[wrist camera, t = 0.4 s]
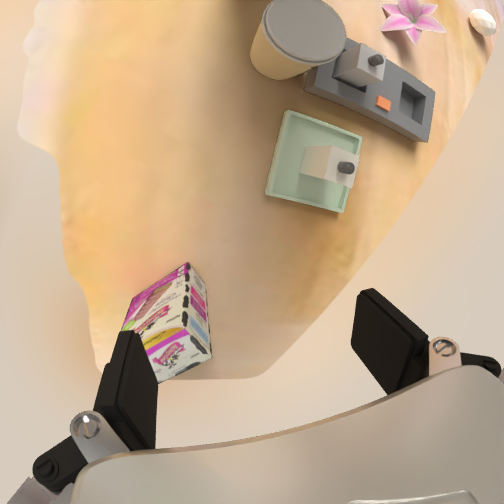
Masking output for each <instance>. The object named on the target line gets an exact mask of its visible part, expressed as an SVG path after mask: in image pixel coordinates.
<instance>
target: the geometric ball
mask: <svg viewBox="0 0 504 504" xmlns="http://www.w3.org/2000/svg"><path fill="white" fill-rule="evenodd" d="M470 22H471V25H472V26H473V28H474V29H475V30H476V31H477V32H478V33H481V34H482V35H485V36H491V35H492V34H494V33H495V32H496V23H495V21H494V19H493V18H492V16H491V15H490V14H488V13H487V12H486V11H484V10H481V9H474V10H473V11H472V12H471V13H470Z"/></svg>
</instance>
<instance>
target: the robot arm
mask: <svg viewBox="0 0 504 504" xmlns="http://www.w3.org/2000/svg"><path fill="white" fill-rule="evenodd" d="M351 346H352V349H353V350H354V351H355V353H356V354H357V355H358V357H359V358H360V359H361V360H362V362H363V363H364V364H365V366H366V367H367V368H368V370H369V371H370V372H371V374H372V375H373V376H374V378H375V379H376V380H377V382H378V383H379V384H380V385H381V387H382V388H383V390H384V391H385V392H386V393H387V396H385V397H383V398H380V399H378V400H376V401H373V402H371V403H368V404H365V405H363V406H361V407H358V408H355V409H352V410H350V411H347V412H344V413H341V414H338V415H335V416H332V417H329V418H326V419H323V420H320V421H316V422H313V423H310V424H306V425H302V426H299V427H295V428H291V429H287V430H283V431H280V432H275V433H271V434H266V435H261V436H256V437H251V438H246V439H240V440H235V441H228V442H221V443H215V444H206V445H197V446H189V447H177V448H162V449H155V442H156V441H155V440H156V413H157V395H158V381H157V378H156V375H155V373H154V371H153V368H152V366H151V363H150V361H149V358H148V356H147V353H146V350H145V348H144V345H143V342H142V340H141V337H140V334H139V333H135V331H134V330H125V331H120V332H119V335H118V338H117V341H116V344H115V347H114V351H113V354H112V357H111V361H110V363H107V364H106V366H105V368H104V371H103V375H102V378H101V382H100V385H99V389H98V393H97V397H96V400H95V404H94V408H93V411H84V412H81V413H79V414H78V415H77V416H75V417H74V419H73V420H72V421H71V424H70V432H71V436H69V437H68V438H67V439H65V440H63V441H62V442H61V443H59V444H58V445H56V446H55V447H53V448H52V449H50V450H49V451H47V452H45V453H44V454H42V455H41V456H39V457H38V458H37V459H36V460H35V462H34V464H33V475H34V476H33V477H32V479H31V478H29V477H28V478H27V479H26V481H25V482H24V483H23V484H22V485H21V487H20V488H19V489H18V490H17V492H16V493H15V494H14V495H13V497H12V498H11V499H10V500H9V502H8V503H7V504H504V368H503V370H501V366H500V364H499V363H498V362H497V361H496V360H495V359H494V358H491V357H487V356H481V355H474V354H468V353H461V352H460V349H459V346H458V345H457V343H456V342H455V341H453V340H452V339H449V338H446V337H437V338H434V339H433V340H432V341H431V342H429V341H428V335H427V334H426V333H425V332H423V331H422V330H421V329H420V328H419V327H418V326H417V325H416V324H415V323H413V322H412V321H411V320H410V319H409V318H408V317H407V316H406V315H404V314H403V313H402V312H401V311H400V310H399V309H397V308H396V307H395V306H394V305H393V304H392V303H391V302H389V301H388V300H387V299H386V298H385V297H383V296H382V295H381V294H380V293H379V292H378V291H376V290H375V289H374V288H370V289H366V290H362V291H361V292H360V294H359V295H358V296H357V300H356V309H355V316H354V323H353V331H352V338H351Z"/></svg>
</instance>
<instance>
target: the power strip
mask: <svg viewBox="0 0 504 504" xmlns="http://www.w3.org/2000/svg"><path fill="white" fill-rule="evenodd" d="M358 44H359V43H357V42H355V41H353V40H351V39H349V38H347V37H346V42H345V46H344V49H343V51H342V52H341V53H343V52H345V51H346V50H348V49H350V48H352V47H354V46H356V45H358ZM335 60H336V59H334V60H333V61H331V62H328V63H325V64H321V65H319V66H317V67H314V68H312V69H310V70H309V71H308V75H307V80H306V84H305V88H304V91H306V92H309V93H312V94H315V95H317V96H320V97H322V98H325V99H328V100H330V101H332V102H335V103H337V104H340V105H342V106H344V107H347V108H349V109H351V110H354V111H356V112H358V113H360V114H362V115H364V116H367V117H369V118H371V119H373V120H375V121H377V122H379V123H381V124H383V125H385V126H387V127H389V128H391V129H393V130H394V131H396V132H398V133H400V134H402V135H404V136H405V137H407V138H409V139H411V140H412V141H415V142H428V139H429V133H430V127H431V121H432V114H433V107H434V99H435V91H433V90H432V89H431V88H429V87H428V86H427V85H425V84H424V83H422V82H421V81H420V80H418V79H417V78H415V77H414V76H412V75H411V74H410V73H408V72H407V71H405V70H403V69H402V68H400V67H399V66H397V65H396V64H394V63H392V62H391V61H389V60H387V59H386V62H385V69H384V75H383V81H381V82H377V83H373V84H369V85H365V86H362V87H358V88H353V87H351V86H349V85H347V84H345V83H342V82H340V81H338V80H336V79H333V78H332V74H333V70H334V65H335Z"/></svg>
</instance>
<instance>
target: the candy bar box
mask: <svg viewBox="0 0 504 504" xmlns="http://www.w3.org/2000/svg"><path fill="white" fill-rule="evenodd" d="M125 330H134V331H135V333H139V334H140V337H141V340H142V342H143V345H144V348H145V350H146V353H147V356H148V358H149V361H150V363H151V366H152V368H153V371H154V373H155V375H156V378H157V381H158V384H159V383H161V382H164V381H166V380H168V379H170V378H172V377H174V376H176V375H178V374H180V373H183V372H184V371H187V370H189V369H191V368H193V367H195V366H197V365H199V364H201V363H203V362H205V361H207V360H209V359H210V358H212V350H211V341H210V329H209V319H208V308H207V295H206V285H205V284H204V282H203V281H202V280H201V279H200V277H199V276H198V275H197V273H196V272H195V270H194V269H193V267H192V266H191V265H190V263H189V262H187V263H186V264H184V265H183V266H181V267H180V268H178V269H177V270H175V271H173V272H172V273H171V274H169V275H168V276H166V277H165V278H163V279H161V280H160V281H158V282H157V283H155V284H154V285H152V286H151V287H149V288H148V289H146V290H145V291H143V292H142V293H140V294H138V295H137V296H135V297H134V298H133V299H132V301H131V304H130V307H129V309H128V312H127V315H126V318H125V321H124V323H123V326H122V329H121V331H125Z"/></svg>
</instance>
